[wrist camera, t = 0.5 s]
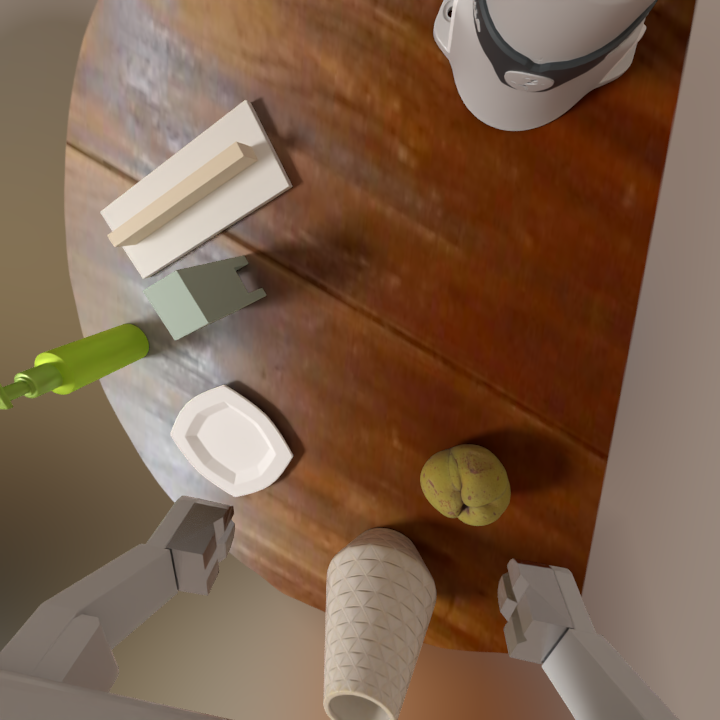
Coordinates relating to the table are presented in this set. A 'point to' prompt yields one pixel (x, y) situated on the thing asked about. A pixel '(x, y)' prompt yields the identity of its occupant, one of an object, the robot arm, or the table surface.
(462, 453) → the fruit
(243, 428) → the plate
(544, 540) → the table surface
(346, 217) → the table surface
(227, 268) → the tall rectangular block
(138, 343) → the soap dispenser
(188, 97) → the table surface
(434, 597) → the vase
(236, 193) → the rail board
